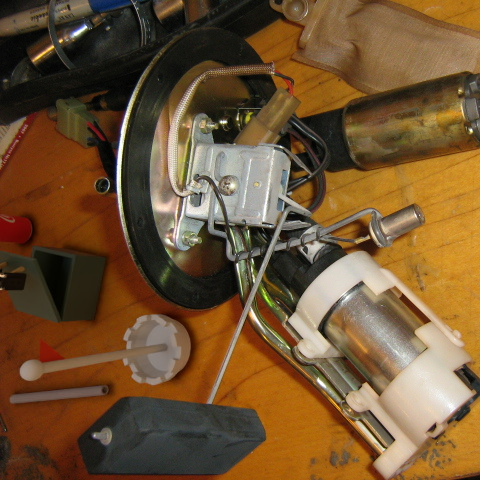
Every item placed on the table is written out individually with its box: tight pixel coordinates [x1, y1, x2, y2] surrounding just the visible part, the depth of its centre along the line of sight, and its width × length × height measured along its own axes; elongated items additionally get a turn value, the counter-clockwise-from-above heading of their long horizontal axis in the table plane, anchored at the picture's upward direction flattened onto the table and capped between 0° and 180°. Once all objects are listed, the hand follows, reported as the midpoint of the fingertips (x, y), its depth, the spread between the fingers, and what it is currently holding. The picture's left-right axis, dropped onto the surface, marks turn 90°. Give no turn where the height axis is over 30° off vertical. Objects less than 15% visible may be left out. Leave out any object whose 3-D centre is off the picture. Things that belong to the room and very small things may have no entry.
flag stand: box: [19, 313, 192, 386], centre depth 77 cm, size 13×13×30 cm
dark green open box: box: [30, 245, 107, 323], centre depth 98 cm, size 14×13×8 cm
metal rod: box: [9, 384, 109, 405], centre depth 99 cm, size 2×27×2 cm, turn 98°
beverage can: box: [0, 213, 33, 244], centre depth 104 cm, size 6×6×12 cm
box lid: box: [0, 250, 62, 324], centre depth 88 cm, size 14×13×6 cm
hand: (11, 278), depth 87 cm, fingers closed on box lid, 6 cm apart
